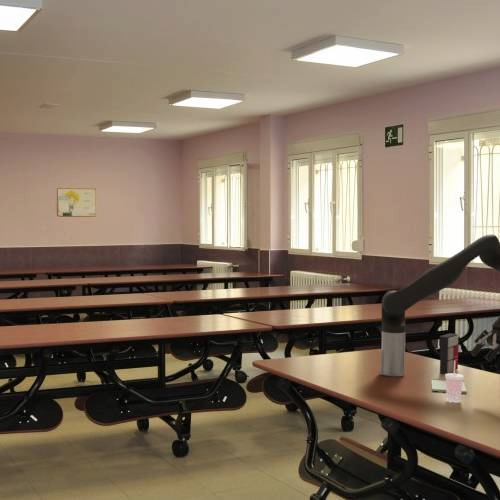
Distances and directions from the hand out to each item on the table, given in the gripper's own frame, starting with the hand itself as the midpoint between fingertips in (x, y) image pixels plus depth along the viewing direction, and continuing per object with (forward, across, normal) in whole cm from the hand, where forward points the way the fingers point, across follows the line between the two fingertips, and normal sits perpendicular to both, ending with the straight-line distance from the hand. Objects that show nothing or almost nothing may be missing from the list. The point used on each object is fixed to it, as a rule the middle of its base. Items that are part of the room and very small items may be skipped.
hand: (479, 357), depth 251 cm
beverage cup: (+18, 0, -4) cm, 18 cm away
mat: (+11, +19, -11) cm, 24 cm away
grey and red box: (0, +42, -22) cm, 48 cm away
